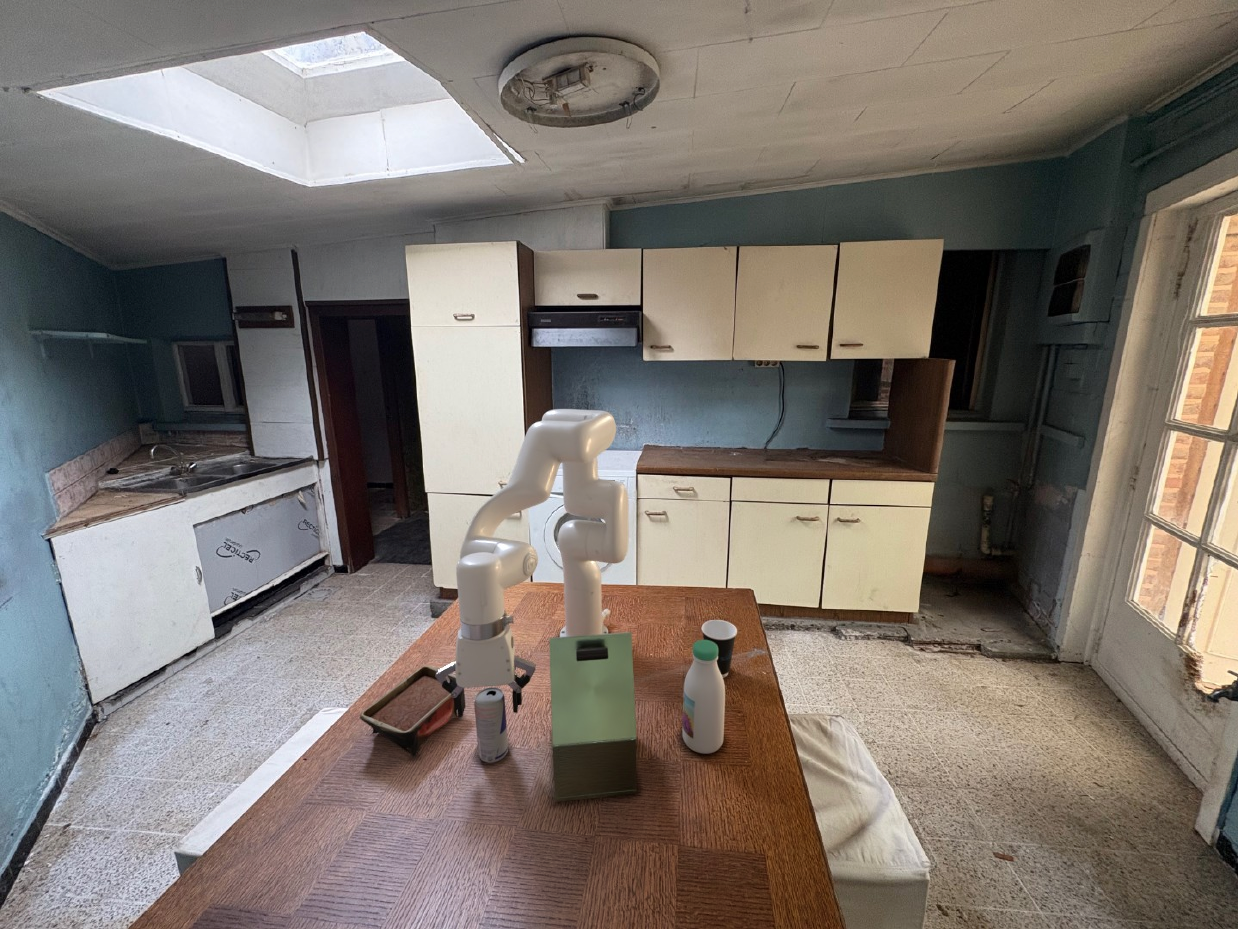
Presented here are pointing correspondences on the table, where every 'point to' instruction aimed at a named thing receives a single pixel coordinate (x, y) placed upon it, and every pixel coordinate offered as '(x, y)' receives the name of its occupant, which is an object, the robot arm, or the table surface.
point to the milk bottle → (704, 700)
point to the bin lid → (592, 688)
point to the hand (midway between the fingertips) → (489, 709)
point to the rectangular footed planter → (412, 710)
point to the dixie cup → (721, 641)
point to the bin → (594, 769)
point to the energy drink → (491, 724)
